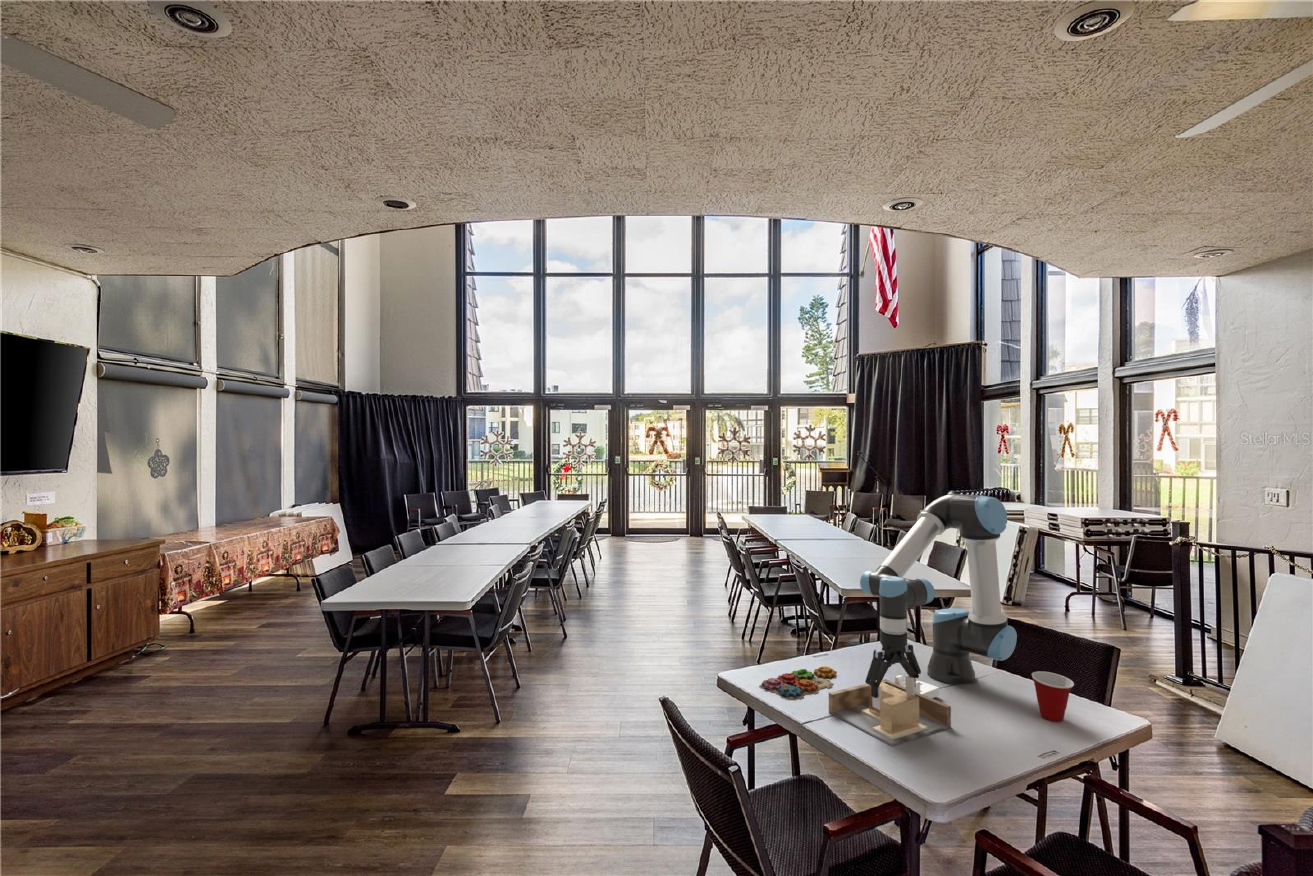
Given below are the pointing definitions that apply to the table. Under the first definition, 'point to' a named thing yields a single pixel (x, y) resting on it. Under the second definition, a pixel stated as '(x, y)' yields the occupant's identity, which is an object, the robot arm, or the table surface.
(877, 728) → the pad
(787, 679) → the gear puzzle
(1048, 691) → the plastic cup
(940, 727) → the arena
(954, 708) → the table surface
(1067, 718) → the table surface
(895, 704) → the wooden l-shaped block
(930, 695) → the bracket
